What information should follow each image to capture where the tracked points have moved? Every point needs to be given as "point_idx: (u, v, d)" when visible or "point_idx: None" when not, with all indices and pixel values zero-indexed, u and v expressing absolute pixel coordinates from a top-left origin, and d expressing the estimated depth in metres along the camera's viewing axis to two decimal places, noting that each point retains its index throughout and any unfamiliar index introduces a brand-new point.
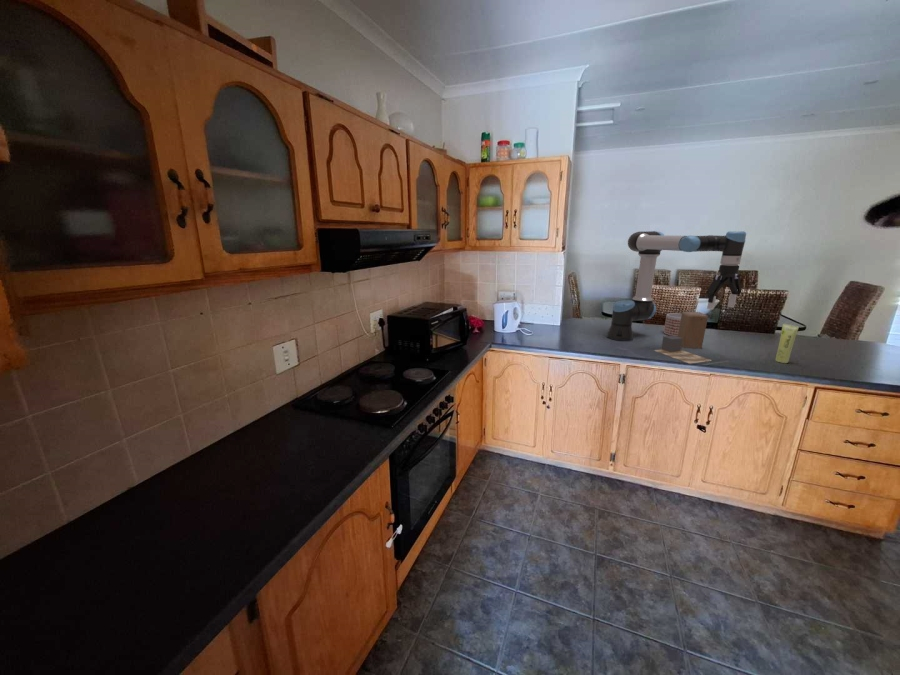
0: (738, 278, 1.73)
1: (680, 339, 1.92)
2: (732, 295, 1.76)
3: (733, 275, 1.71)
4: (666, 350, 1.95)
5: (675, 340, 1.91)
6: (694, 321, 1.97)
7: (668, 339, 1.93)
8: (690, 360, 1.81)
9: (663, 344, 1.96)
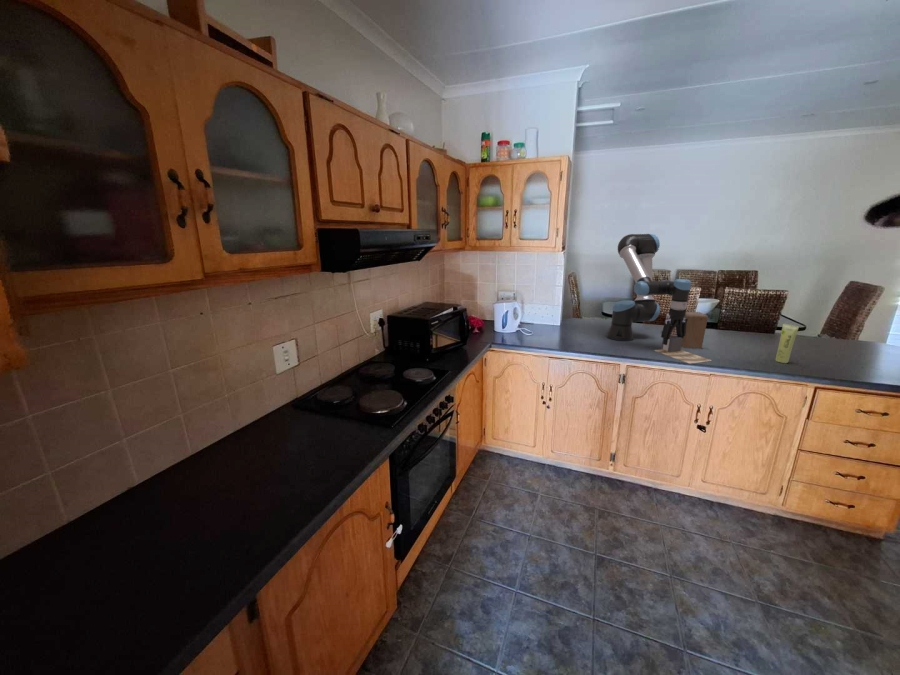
0: (685, 322, 1.92)
1: (680, 339, 1.92)
2: None
3: (682, 317, 1.91)
4: None
5: (675, 340, 1.91)
6: (694, 321, 1.97)
7: None
8: (690, 360, 1.81)
9: (663, 344, 1.96)
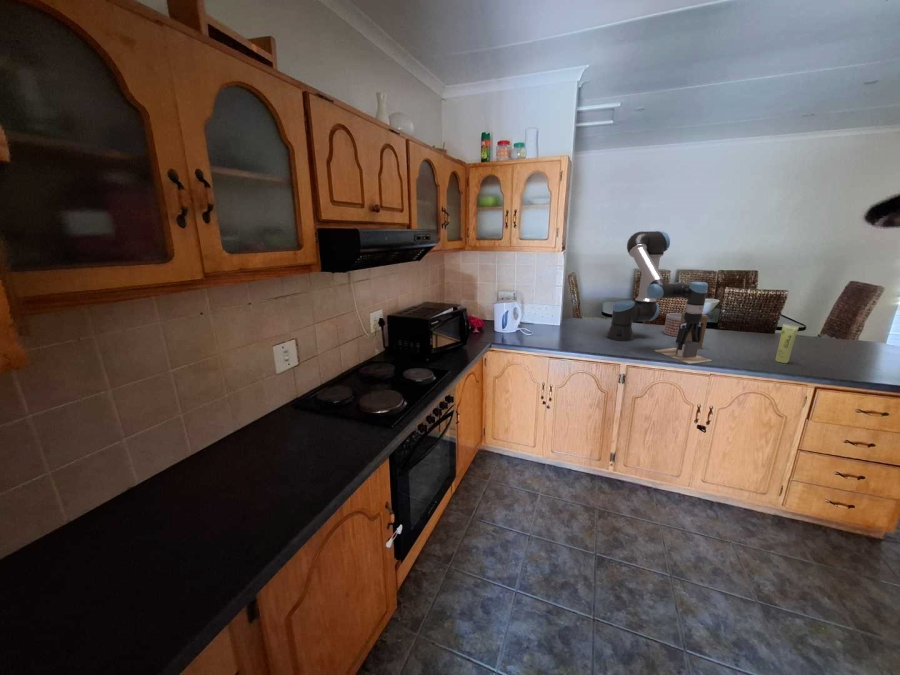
0: (701, 326, 1.84)
1: (696, 344, 1.83)
2: None
3: (697, 321, 1.82)
4: None
5: (691, 345, 1.83)
6: None
7: None
8: (690, 360, 1.81)
9: None
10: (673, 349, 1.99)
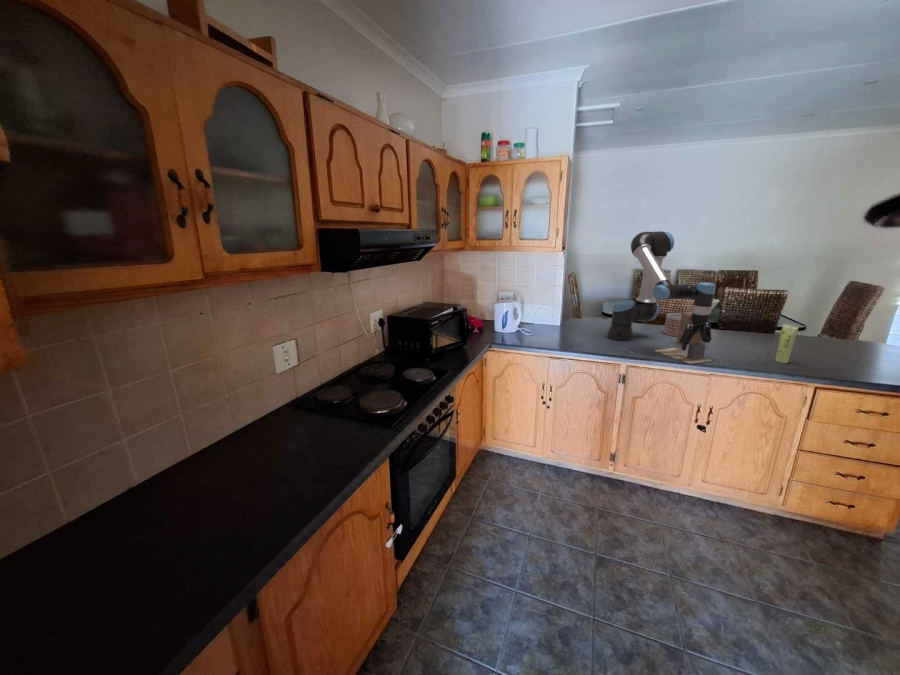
0: (709, 326, 1.80)
1: (703, 346, 1.80)
2: (703, 342, 1.84)
3: (704, 323, 1.79)
4: (688, 358, 1.82)
5: (698, 347, 1.79)
6: None
7: (690, 346, 1.81)
8: None
9: None
10: (673, 349, 1.99)
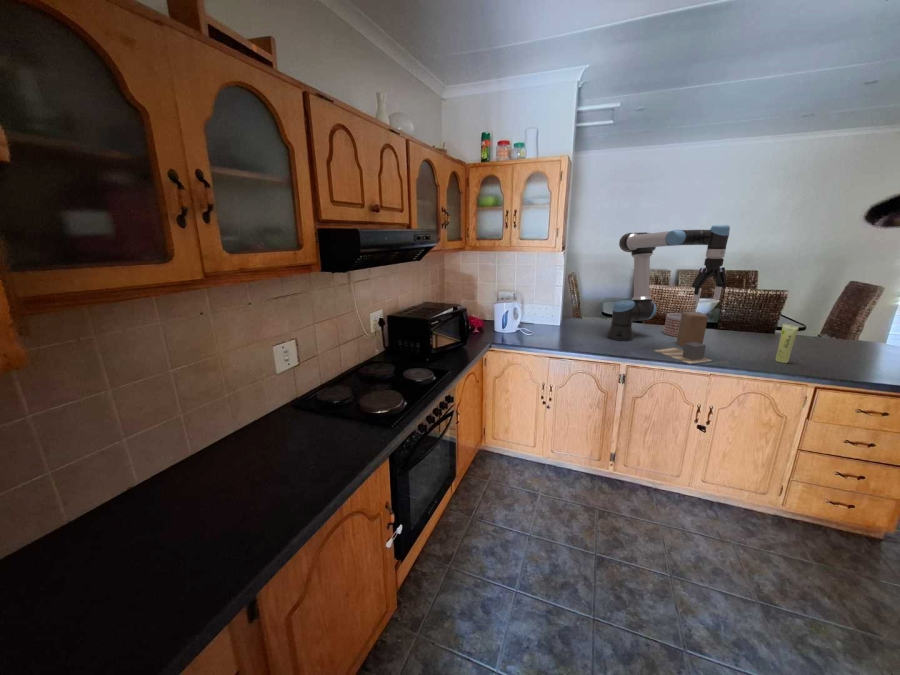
0: (723, 271, 1.78)
1: (703, 346, 1.80)
2: (717, 287, 1.82)
3: (718, 268, 1.76)
4: (688, 358, 1.82)
5: (698, 347, 1.79)
6: (694, 321, 1.97)
7: (690, 346, 1.81)
8: None
9: (684, 351, 1.84)
10: (673, 349, 1.99)
